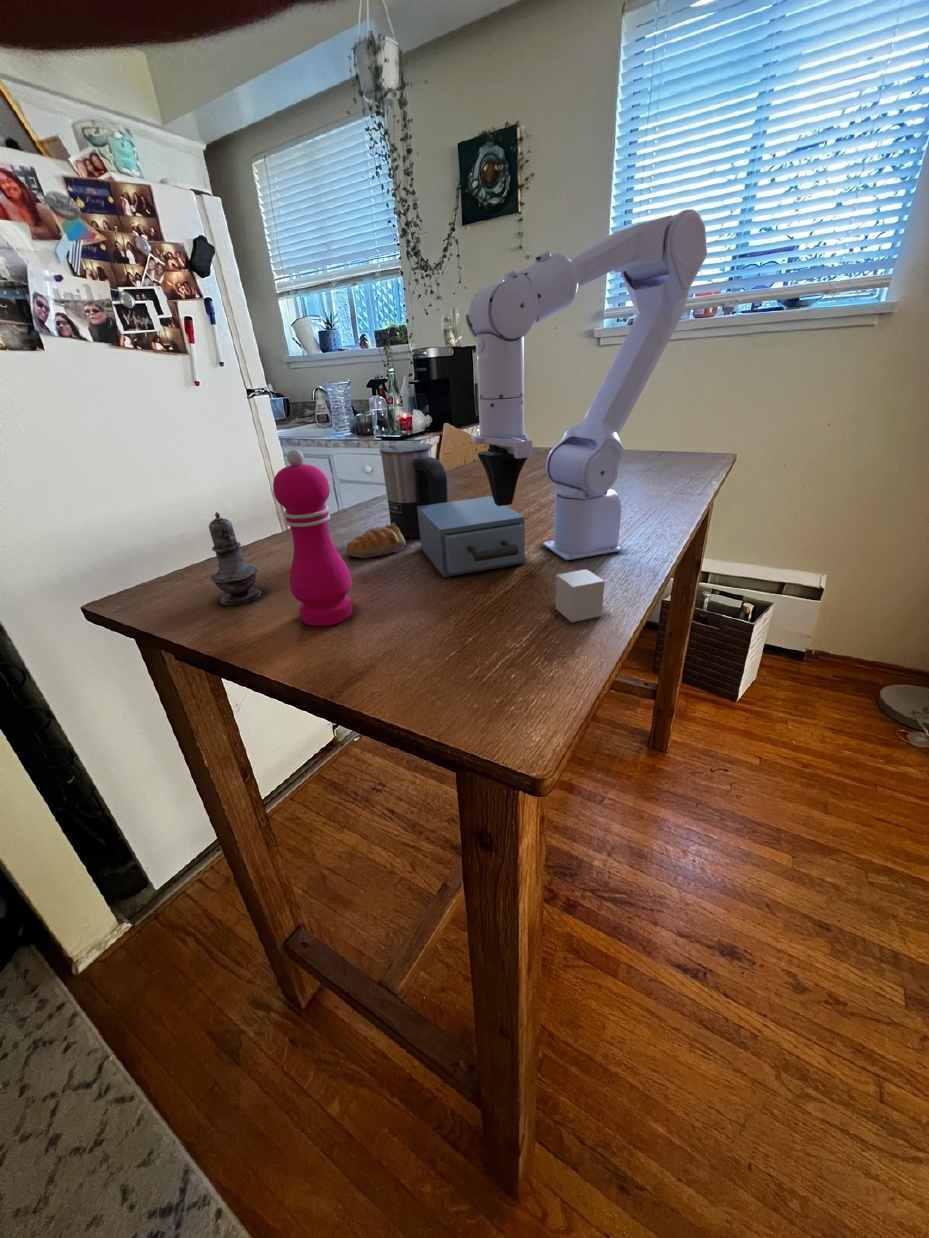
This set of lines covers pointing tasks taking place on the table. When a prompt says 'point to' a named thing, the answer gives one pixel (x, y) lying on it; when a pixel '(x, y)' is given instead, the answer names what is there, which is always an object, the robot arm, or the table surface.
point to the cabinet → (460, 526)
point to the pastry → (377, 542)
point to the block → (579, 595)
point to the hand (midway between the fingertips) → (503, 504)
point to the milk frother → (412, 483)
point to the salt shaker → (231, 565)
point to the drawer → (484, 548)
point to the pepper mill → (312, 544)
